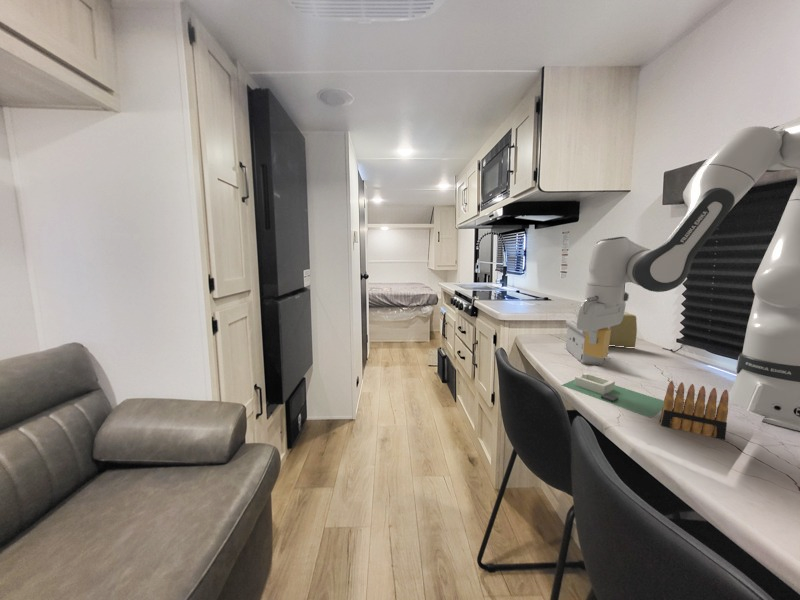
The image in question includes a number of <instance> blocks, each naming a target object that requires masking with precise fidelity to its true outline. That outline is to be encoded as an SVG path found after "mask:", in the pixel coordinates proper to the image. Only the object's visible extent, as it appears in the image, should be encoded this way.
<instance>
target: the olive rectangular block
mask: <svg viewBox="0 0 800 600" xmlns="http://www.w3.org/2000/svg"><path fill="white" fill-rule="evenodd" d="M637 329H638V326H637V316H636V315H634V314H631V313H630V314H629V313H624V316H623V319H622V321H621V323H620V324H618V325H614V326H610V330H611V335H610V342H609V345H615V346H624V347H635V348H636V344H637V343H636V341H637V333H638V332H637V331H638V330H637Z"/></svg>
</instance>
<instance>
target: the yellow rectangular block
mask: <svg viewBox="0 0 800 600" xmlns="http://www.w3.org/2000/svg"><path fill="white" fill-rule="evenodd" d="M610 335H611V330H610V329H606V328H602V329H599V330H598V333H597V338H599V339H598V343H597V344H591V343H589V334H588V332H587V331H586V336H585V342H584V349H583V353H584V354H587V355H591V356H594V357H598V358H601V359H602V358H604V357H605V358H607V357H608V354H609V347H610V346H609V342H610ZM605 358H604V359H605Z"/></svg>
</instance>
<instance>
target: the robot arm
mask: <svg viewBox="0 0 800 600" xmlns="http://www.w3.org/2000/svg"><path fill="white" fill-rule="evenodd" d="M789 170H795V173H796V177H797V180H796V185H795V186H794V188H793V190H792V192H791V194H790V196H789V199H788V201H787V204H786V206H785V209H784V211H783V212H782V215H781V218H780V221H779V223H778V225H777V228H776V231H775V232H774V235H773V236H772V238H771V241H770V243H769V244H768V247H767V249H766V251H765V253H764V256H763V258H762V260H761V262H760V264H759V267H758V269H757V270H756V273H755V275H754V278H753V280H752V284H751V285H752V286H751V287H752V291H753V293H754V298H753V302H752V306H751V310H750V314H749V316H748V317H749V318H748V322H747V325H746V331H745V337H744V340H743V341H744V342H743V348H742V352H740V353H739V355H738V358H737V363H736V368H735V369H736V373H737V374H736V376H735V379H734V382H733V385H732V387H731V389H730V391H729V392H728V396H729V399H728V405H733V406H735V407H739V408H741V409H744V410H745V411H747V412H748V413H750V414H752V415H753V416H756V417H760V418H763V419H762V421H761V422H762V423H768V424H771V425H775V426H779V427H783V428H786V429H790V430H795V431H799V432H800V117H799V116H798V117H797V118H795V119H793V120H790V121H788V122H785V123H783V124H781V125H777V126H774V127H773V126H772V127H771V128H770V127H766V126H757V125H756V126H750V127H749V126H748V127H745V128H742V129H740V130H738V131H736V132H735V133H734V134H732V135H730V136H729V137H728V138H727V139H726V140H725V141H724V142H723V143H722V144H721V145H720V146H719V147H717V148H716V149H715V151H714V152H713V153H711V154H710V156H708V158H707V159H706V160H705V161H704V162H703V163H702V165H701V166H700V167H699V168H698V169H697V170H696V172H695V173H694V174H693V175H692V177H691V178H690V180H689V182H687V184H686V186H685V188H684V190H683V193H682V199H683V201H684V204H685V205H686V206H687V210H686V214H685V215H684V216H683V218H682V219H681V220H680V222H679V223H678V224H677V226H676V227H675V229H674V230H673V231H672V232H671V233H670V235H669V236H668V238H667V239H665V241H664V242H663V243H662V244H661V245H660V246H658V247H656V248H653V249H650V248H648V247H645V246H642V245H639V244H638V243H635V242H634V241H632V240H631V239H629V238H628V237H626V236H617V237H609V238H603V239H600V240H598V241H596V243H594V245H593V247H592V250H591V255H590V260H589V263H588V264H589V265H588V271H589V277H588V280H587V282H586V290H585V295H584V296H585V297H584V298H585V299H584V300H585V301H584V302H583V303H582V304H580V306H579V309H578V312H577V315H578V318H577V317H576V318H577V319H576V320H577V324H576V326H577V329H578V330H582V331H587V332H588V334H589V343H591V344H597V343H598V339H599V338H597V333H598V330H599V329H602V328H606V329H610V326H614V325H618V324H620V323H621V321H622V319H623V316H624V314H625V311H626V302H628V301H629V298H630V297H629V296H630V295H629V293H628V292H626V290H625V285H626V283H632V284H634V285H637V286H640V287H642V288H643V289H644V290H647V291H649V292H656V293H660V292H661V293H664V292H668V291H671V290H674V289H676V288H677V287H679V286H680V285H682V284H683V283H684V282H685V281H686V279H687V278H688V275H689V273H690V270H691V267H692V263H693V261H694V258H695V257H696V255H697V253H698V252H699V251H700V250H701V248H702V247H704V245H705V244H706V242H707V241H708V239H709V238H710V237H711V236H712V234H714V232H715V231H716V229H717V228H718V227H719V226H720V224H721V223H722V222H723V220H724V219H726V217H727V215H728V214H729V212H730V211H731V210H732V209H733V208H734V207H735V205H736V204H737V203H739V202H740V200H741V199H743V197H744V196H745V195H746V194H747V193H748V191H750V190H751V188H752V187H754V185H755V184H756V183H757V182H758V181H759V179H760V178H761V177H762V176H763V175H764V173H766V172H767V173H774V172H775V173H777V172H780V171H789Z"/></svg>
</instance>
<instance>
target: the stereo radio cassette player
mask: <svg viewBox="0 0 800 600" xmlns="http://www.w3.org/2000/svg"><path fill="white" fill-rule="evenodd" d="M570 305H571V306H572V309H573V311H574V313H575V316H576V318H578V312H576V310H575V307H574V305H573V303H571V304H570ZM565 324H566V325H567V329H566V338H565V340H566V341H565V350H567V351H568V352H569V353H570V354H572V356H574V357H575V358H576V359H577V361H579V362H580V363H581V364H582V363H583V365H584V364H585V365H586V364H587V365H597V366H600V365H601V364H604V362H605V359H606V357H604V358H602V359H601V358H598V357H594V356H591V355H587V354H584V353H583V349H584V342H585V336H586V331H582V330H578V329H577V326H576V324H577V319H565Z"/></svg>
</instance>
